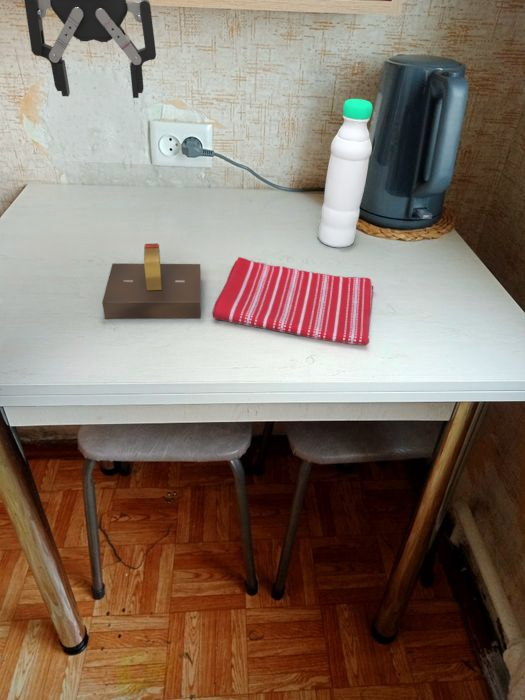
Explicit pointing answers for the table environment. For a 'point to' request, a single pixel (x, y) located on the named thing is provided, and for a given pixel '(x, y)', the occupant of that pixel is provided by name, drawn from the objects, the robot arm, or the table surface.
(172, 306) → the lock plate
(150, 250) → the yellow milk carton
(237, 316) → the dish towel
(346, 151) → the water bottle
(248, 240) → the table surface
